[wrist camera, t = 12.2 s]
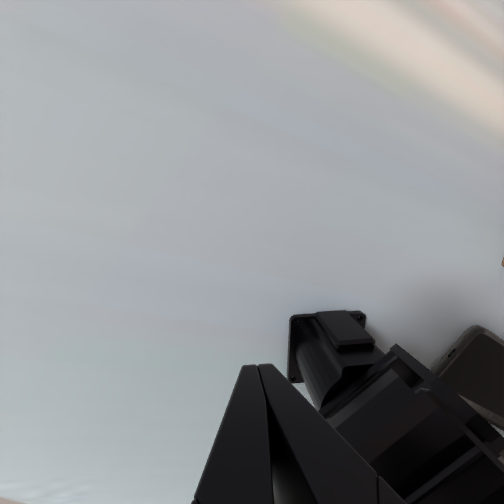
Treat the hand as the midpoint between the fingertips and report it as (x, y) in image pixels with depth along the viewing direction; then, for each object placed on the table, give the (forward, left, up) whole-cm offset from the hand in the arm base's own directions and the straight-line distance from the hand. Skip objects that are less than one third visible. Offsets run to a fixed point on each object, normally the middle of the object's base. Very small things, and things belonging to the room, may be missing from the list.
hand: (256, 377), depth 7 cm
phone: (-14, -27, -13) cm, 33 cm away
